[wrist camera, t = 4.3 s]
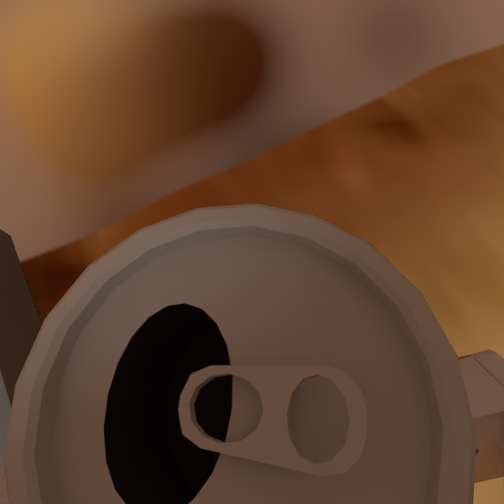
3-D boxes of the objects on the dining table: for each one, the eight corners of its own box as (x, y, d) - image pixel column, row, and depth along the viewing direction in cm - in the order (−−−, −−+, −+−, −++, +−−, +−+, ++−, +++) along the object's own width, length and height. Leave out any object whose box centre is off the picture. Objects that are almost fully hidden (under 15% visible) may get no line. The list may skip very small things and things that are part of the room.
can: (186, 309, 18) (40, 148, 7) (354, 324, 17) (501, 174, 6) (155, 500, 15) (-176, 765, 4) (352, 526, 15) (614, 925, 3)
